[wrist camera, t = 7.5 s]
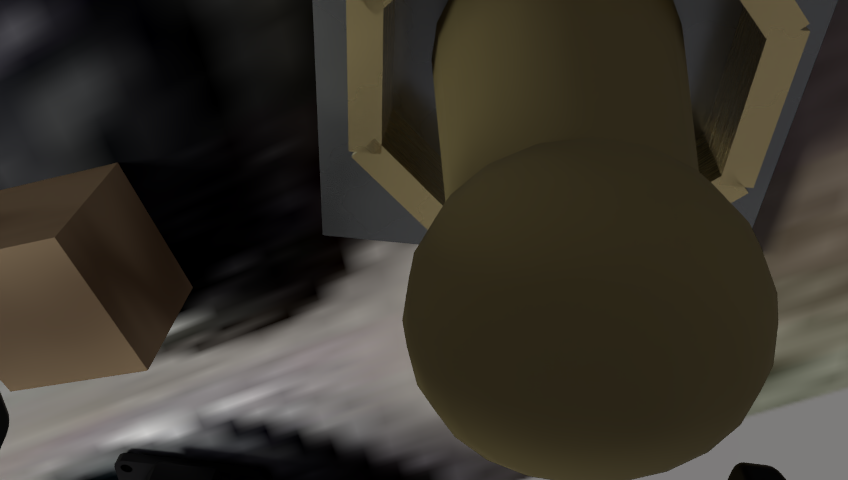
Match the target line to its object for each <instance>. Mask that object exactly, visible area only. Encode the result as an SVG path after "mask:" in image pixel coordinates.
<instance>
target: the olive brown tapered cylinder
mask: <svg viewBox="0 0 848 480" xmlns="http://www.w3.org/2000/svg"><path fill="white" fill-rule="evenodd" d="M431 61H432V71H433V81H434V91H435V101H436V111H437V121H438V131H439V141H440V151H441V161H442V171H443V181H444V191H445V201H446V202H445V203H444V205H443V207H442V208H441V210H440V211H439V213H438V214H437V216H436V218H435V219H434V221H433V223H432V224H431V226H430V227H429V229H428V231H427V232H426V234H425V236H424V237H423V239H422V241H421V242H420V244H419V246H418V247H417V249H416V250H415V252H414V256H413V261H412V266H411V271H410V276H409V281H408V288H407V294H406V301H405V307H404V314H403V320H402V321H403V326H404V332H405V338H406V343H407V348H408V352H409V356H410V360H411V363H412V367H413V371H414V374H415V378H416V382H417V385H418V387H419V388H420V390H421V391H422V393H423V394H424V395H425V397H426V398H427V400H428V401H429V403H430V404H431V405H432V407H433V408H434V410H435V411H436V412H437V414H438V415H439V416H440V418H441V419H442V420H443V422H444V423H445V424H446V426H447V427H448V428H449V430H450V431H451V432H452V434H453V435H454V436H455V437H456V438H457V439H459V440H460V441H461V442H463V443H464V444H466V445H467V446H468V447H470V448H471V449H473V450H474V451H476V452H477V453H478V454H480V455H481V456H483V457H484V458H485V459H487V460H488V461H491V462H494V463H496V464H499V465H501V466H504V467H506V468H509V469H512V470H514V471H517V472H519V473H522V474H524V475H527V476H531V477H537V478H544V479H550V480H632V479H636V478H640V477H644V476H649V475H654V474H658V473H662V472H667V471H669V470H671V469H673V468H675V467H677V466H679V465H682V464H684V463H686V462H688V461H690V460H692V459H694V458H696V457H698V456H701V455H703V454H705V453H707V452H709V451H710V450H711V449H712V448H713V447H715V446H716V445H717V444H718V443H719V442H720V441H722V440H723V439H724V438H725V437H726V436H728V435H729V434H730V433H731V432H732V431H734V430H735V429H736V428H737V427H738V426H739V425H740V424H741V423H742V421H743V420H744V418H745V416H746V415H747V413H748V411H749V410H750V408H751V406H752V405H753V403H754V401H755V399H756V398H757V396H758V394H759V393H760V391H761V389H762V387H763V385H764V383H765V381H766V379H767V377H768V375H769V373H770V371H771V369H772V367H773V363H774V354H775V346H776V337H777V329H778V301H777V291H776V288H775V285H774V282H773V280H772V277H771V274H770V271H769V268H768V266H767V263H766V260H765V257H764V254H763V251H762V249H761V246H760V244H759V242H758V240H757V238H756V236H755V234H754V232H753V229H752V227H751V225H750V223H749V222H748V221H747V220H746V219H745V218H744V216H743V215H742V214H741V213H740V212H739V211H738V210H737V209H736V208H735V207H734V206H733V205H732V204H731V203H730V202H729V201H728V200H727V198H726V197H725V196H724V195H723V194H722V193H721V192H720V191H719V190H718V189H717V188H716V187H715V186H714V185H713V184H712V183H711V182H710V181H709V180H708V179H707V178H705V177H704V176H703V175H702V174H701V173H700V172H699V168H698V159H697V150H696V142H695V133H694V124H693V115H692V107H691V98H690V89H689V80H688V72H687V63H686V54H685V46H684V37H683V28H682V24H681V21H680V18H679V15H678V12H677V9H676V7H675V4H674V1H673V0H448V2H447V4H446V6H445V8H444V10H443V12H442V14H441V16H440V18H439V20H438V22H437V25H436V32H435V39H434V46H433V53H432V59H431Z"/></svg>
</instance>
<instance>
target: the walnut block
mask: <svg viewBox="0 0 848 480" xmlns="http://www.w3.org/2000/svg"><path fill="white" fill-rule="evenodd" d="M192 288H193V287H192V285H191V283H190V282H189V280H188V279H187V277H186V275H185V274H184V272H183V270H182V269H181V267H180V265H179V264H178V262H177V260H176V259H175V257H174V255H173V254H172V252H171V250H170V249H169V247H168V245H167V244H166V242H165V240H164V239H163V237H162V235H161V234H160V232H159V230H158V229H157V227H156V225H155V224H154V222H153V220H152V219H151V217H150V215H149V214H148V212H147V210H146V209H145V207H144V205H143V204H142V202H141V200H140V199H139V197H138V195H137V194H136V192H135V191H134V189H133V187H132V186H131V184H130V182H129V181H128V179H127V177H126V176H125V174H124V172H123V171H122V169H121V167H120V166H119V164H118V163H114V164H110V165H106V166H101V167H97V168H93V169H89V170H84V171H80V172H76V173H72V174H68V175H63V176H59V177H55V178H51V179H46V180H42V181H38V182H34V183H29V184H25V185H21V186H17V187H12V188H8V189H4V190H0V380H1V381H2V382H3V383H4V385H5V386H6V387H7V388H8V389H9V390H10V391H17V390H23V389H30V388H36V387H43V386H49V385H56V384H62V383H69V382H75V381H82V380H88V379H95V378H101V377H108V376H114V375H121V374H128V373H134V372H141V371H147V370H148V369H149V367H150V365H151V363H152V362H153V360H154V358H155V356H156V354H157V352H158V351H159V349H160V347H161V345H162V343H163V341H164V339H165V338H166V336H167V334H168V332H169V330H170V328H171V327H172V325H173V323H174V321H175V319H176V317H177V316H178V314H179V312H180V310H181V308H182V306H183V304H184V303H185V301H186V299H187V297H188V295H189V293H190V292H191V290H192Z"/></svg>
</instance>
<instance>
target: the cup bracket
mask: <svg viewBox="0 0 848 480" xmlns="http://www.w3.org/2000/svg"><path fill="white" fill-rule="evenodd" d="M673 1H674V4H675V7H676V9H677V12H678V15H679V18H680V21H681V24H682V28H683V37H684V46H685V54H686V63H687V72H688V80H689V89H690V98H691V107H692V115H693V124H694V133H695V142H696V150H697V159H698V168H699V172H700V173H701V174H702V175H703V176H704V177H705V178H707V179H708V180H709V181H710V182H711V183H712V184H713V185H714V186H715V187H716V188H717V189H718V190H719V191H720V192H721V193H722V194H723V195H724V196H725V197H726V198H727V200H728V201H729V202H730V203H731V204H732V205H733V206H734V207H735V208H736V209H737V210H738V211H739V212H740V213H741V214H742V215H743V216H744V218H745V219H746V220H747V221H748V222H749V223H750V225H751V227H752V228H753V225H754V223H755V220H756V217H757V215H758V212H759V209H760V207H761V204H762V201H763V199H764V196H765V193H766V191H767V188H768V185H769V183H770V180H771V177H772V175H773V172H774V169H775V167H776V164H777V161H778V159H779V156H780V153H781V151H782V148H783V145H784V143H785V140H786V137H787V135H788V132H789V129H790V127H791V124H792V122H793V119H794V116H795V114H796V111H797V108H798V106H799V103H800V100H801V98H802V95H803V92H804V90H805V87H806V84H807V82H808V79H809V76H810V74H811V71H812V68H813V66H814V63H815V60H816V58H817V55H818V52H819V50H820V47H821V44H822V42H823V39H824V36H825V34H826V31H827V28H828V26H829V23H830V20H831V18H832V15H833V12H834V10H835V7H836V5H837V2H838V0H673ZM447 2H448V0H313V21H314V44H315V67H316V90H317V113H318V136H319V159H320V182H321V205H322V227H323V235H328V236H338V237H348V238H359V239H369V240H379V241H389V242H400V243H410V244H420V242H421V241H422V239H423V237H424V236H425V234H426V232H427V231H428V229H429V227H430V226H431V224H432V223H433V221H434V219H435V218H436V216H437V214H438V213H439V211H440V210H441V208H442V207H443V205H444V203H445V202H446V201H445V191H444V181H443V171H442V161H441V151H440V141H439V131H438V121H437V111H436V101H435V91H434V81H433V71H432V61H431V59H432V53H433V46H434V39H435V32H436V25H437V22H438V20H439V18H440V16H441V14H442V12H443V10H444V8H445V6H446V4H447Z"/></svg>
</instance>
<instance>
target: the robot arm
mask: <svg viewBox="0 0 848 480" xmlns="http://www.w3.org/2000/svg"><path fill="white" fill-rule="evenodd" d="M8 427H9V414H8V411H7V408H6V406H5V403H4V400H3V398H2V395H1V393H0V448H1V446H2V444H3V441H4V439H5V437H6V434H7V431H8ZM115 470H116V473H117V476H118V479H119V480H273V478H272V475H271V473H270V472H269V471H267V470H265V469H262V468H256V467H247V466H239V465H230V464H221V463H212V462H204V461H195V460H186V459H177V458H169V457H160V456H151V455H142V454H134V453H122V454H120V455H119V457H118V459H117V461H116V463H115ZM728 480H786V479H785V478H784V477H783V475H782V474H781V473H780V472H779V471H778V470H776V469H775V468H773V467H771V466H768V465H760V464H752V463H739V464H737V465H736V466H735V467H734V468H733V470H732V472H731V474H730V476H729V478H728Z"/></svg>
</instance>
